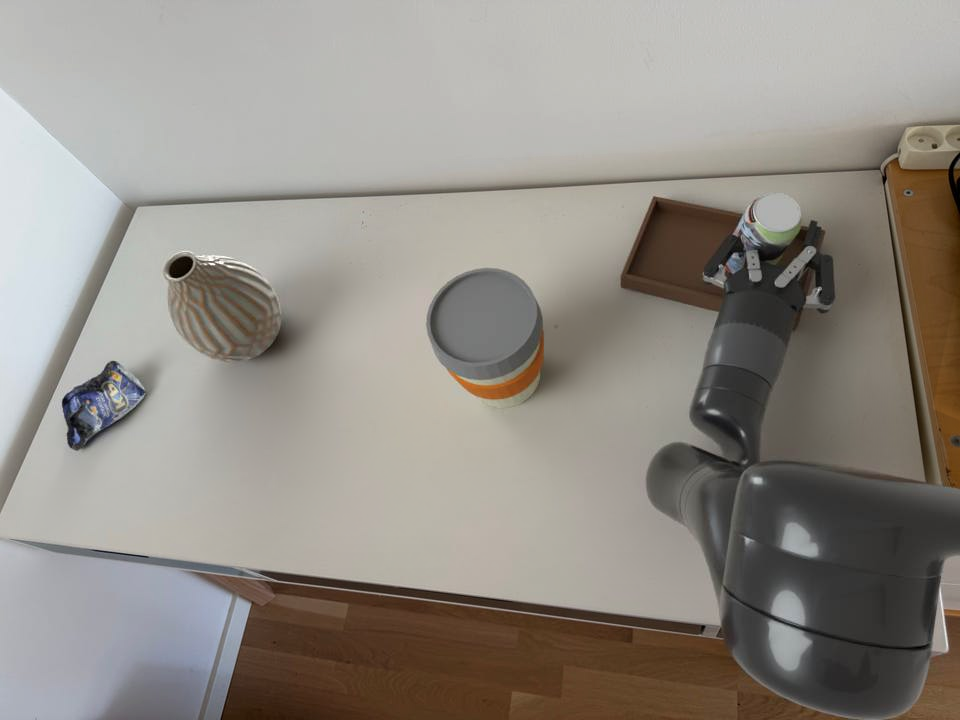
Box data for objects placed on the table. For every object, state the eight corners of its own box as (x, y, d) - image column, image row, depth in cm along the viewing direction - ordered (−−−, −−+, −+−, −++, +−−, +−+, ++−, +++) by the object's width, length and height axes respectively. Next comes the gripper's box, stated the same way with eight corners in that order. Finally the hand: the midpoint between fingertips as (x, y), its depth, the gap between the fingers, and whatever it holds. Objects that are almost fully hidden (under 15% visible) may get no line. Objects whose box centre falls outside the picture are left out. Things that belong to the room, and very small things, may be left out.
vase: (284, 281, 96) (218, 205, 81) (307, 350, 90) (240, 281, 74) (204, 320, 96) (123, 251, 81) (221, 392, 90) (137, 331, 74)
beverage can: (729, 241, 83) (743, 177, 73) (789, 256, 80) (813, 191, 70) (713, 281, 81) (725, 220, 70) (775, 297, 78) (797, 237, 68)
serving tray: (820, 243, 81) (826, 230, 79) (794, 331, 77) (799, 320, 74) (652, 208, 88) (653, 195, 86) (620, 287, 84) (620, 276, 82)
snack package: (133, 451, 88) (155, 372, 93) (92, 437, 83) (118, 354, 88) (71, 456, 93) (95, 380, 97) (28, 443, 87) (56, 363, 92)
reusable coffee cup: (551, 423, 78) (534, 370, 65) (450, 420, 81) (415, 367, 68) (558, 331, 83) (544, 264, 70) (463, 331, 86) (432, 266, 73)
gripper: (830, 347, 63) (866, 211, 69) (681, 309, 68) (727, 185, 74) (811, 380, 69) (845, 253, 75) (677, 343, 75) (719, 226, 80)
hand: (786, 220), depth 74 cm, fingers open, 5 cm apart
